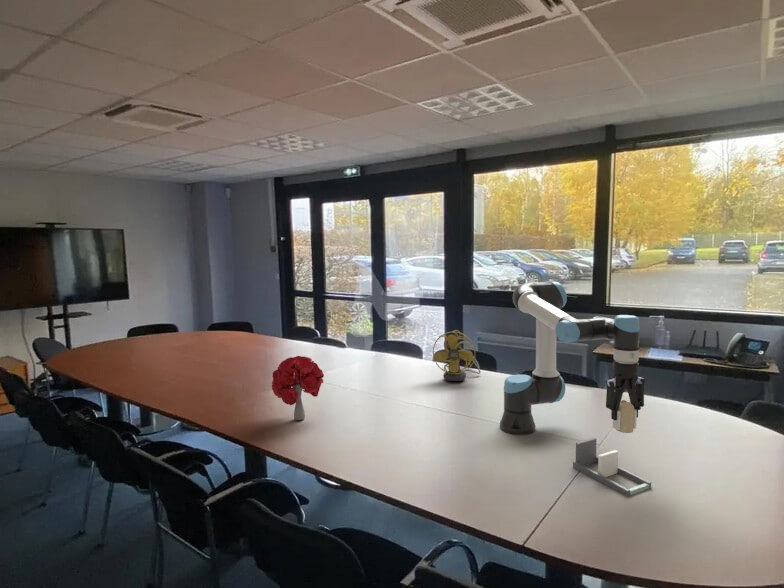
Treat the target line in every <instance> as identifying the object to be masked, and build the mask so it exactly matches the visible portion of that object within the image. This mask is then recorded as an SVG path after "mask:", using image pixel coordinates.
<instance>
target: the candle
mask: <svg viewBox="0 0 784 588" xmlns="http://www.w3.org/2000/svg"><path fill="white" fill-rule="evenodd" d="M618 411H620V430H616V431H617V432H620V433H623V434H624V433H625V434H631V433H633V432H634V406H633V405H632V404H631V402H630V401H626V400H625V399H624V400H622V399H621V402H620V406H619V409H618Z"/></svg>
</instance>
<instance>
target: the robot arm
mask: <svg viewBox="0 0 784 588" xmlns="http://www.w3.org/2000/svg"><path fill="white" fill-rule="evenodd" d="M567 297H568V296H567V292H566V289H565V287H564V286H563V285H562V284H561V283H560V282H558V281H550V280H549V281H548V280H547V281H535V282H534V281H533V282H532V281H531V282H524V283H521V284H519V285H518V286H517V287H516V288H515V289H514V290H513V293H512V302H513V304H514V306H515V308H516V309H518V311H520V312H522V313H524V314H529V315H531V316H532V317H534V318H535V319H536V320H535V369H534V370H533V371H532V372H531V374H532V375H528V374H513V375H510V376H507V377H506V378H505V380H504V383H503V412H502V416H501V419H500V422H499V429H500V430H501V431H502V432H504V433H507V434H510V435H515V436H526V435H531V434H533V433H535V432H536V423H535V420H534V417H533V414H532V406H533V405H542V404H553V403H556V402H557V403H558V402H559V401H561V400H562V399H563V398H564V396H565V394H566V383H565V380H564V378H563V377H562V376H561V374H560V372H559V371H558V370H557V340H558V341H560V342H561V343H574V342H583V341H584V342H586V341H595V340H596V341H597V340H608V341H612V342H613V360H614V361H613V368H612V370H613V373H614V374H613V377H612V378H611V379H606V380H605V384H606V394H605V395H606V399H605V408H606V409H608V410H610V411H611V412H610V413H611V415H610V416H611V417H610V418H611V419H612V428H613V429H615V430H616V431H617V430H620V411H618V409H619V406H620V402H621V401H622V398H623V394H624V393H625V392H626V390H627V394H628V397H629V402H630V403H631V404H632V405H633V406H634V429H637V419H638V418H639V411H640V410H641V409H642V408H643V407H644V406H645V384H646V379H645V378H644V377H641V376H638V374H639V366H640V365H639V364H640V363H639V359H640V353H639V352H640V332H641V328H640V327H641V326H640V319H639V317H638V316H636V315H629V314H619V315H618V314H617V315H615V317H614V318H610V317H606V316H599V315H597V316H594V317H592V318H583V319H582V318H581V319H578V318H575V317H573V316H571V315H570V314H569V313H566V312H565V311H563V310H561V309H562V308H564V307H565V306H566V304H567V301H568V298H567Z"/></svg>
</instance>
